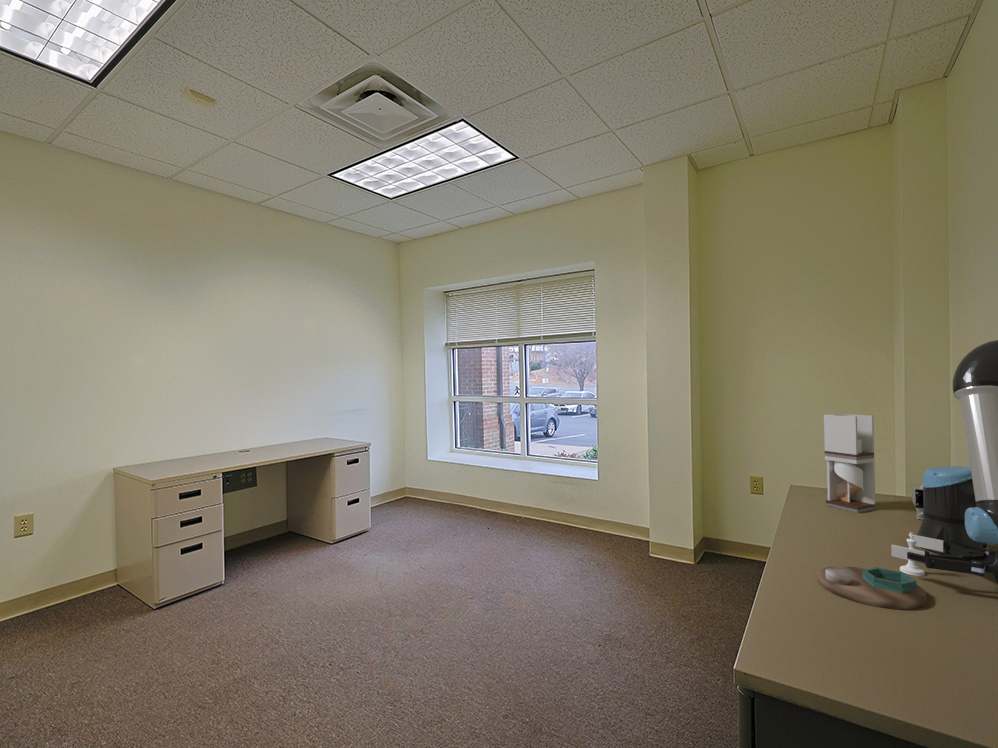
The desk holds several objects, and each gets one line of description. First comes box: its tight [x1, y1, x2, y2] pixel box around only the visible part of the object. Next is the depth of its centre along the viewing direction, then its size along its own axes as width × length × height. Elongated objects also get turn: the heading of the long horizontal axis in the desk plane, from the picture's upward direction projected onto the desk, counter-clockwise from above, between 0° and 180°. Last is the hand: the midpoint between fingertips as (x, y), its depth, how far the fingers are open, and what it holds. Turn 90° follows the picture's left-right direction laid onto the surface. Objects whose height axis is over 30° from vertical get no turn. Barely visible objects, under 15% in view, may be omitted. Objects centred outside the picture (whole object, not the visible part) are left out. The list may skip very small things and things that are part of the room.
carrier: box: [817, 565, 928, 611], centre depth 113 cm, size 20×20×4 cm
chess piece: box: [899, 531, 926, 577], centre depth 123 cm, size 5×5×10 cm
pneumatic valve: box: [911, 483, 924, 521], centre depth 168 cm, size 6×12×12 cm, turn 145°
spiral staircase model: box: [823, 413, 876, 514], centre depth 184 cm, size 11×11×35 cm
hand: (901, 544), depth 124 cm, fingers open, 13 cm apart
